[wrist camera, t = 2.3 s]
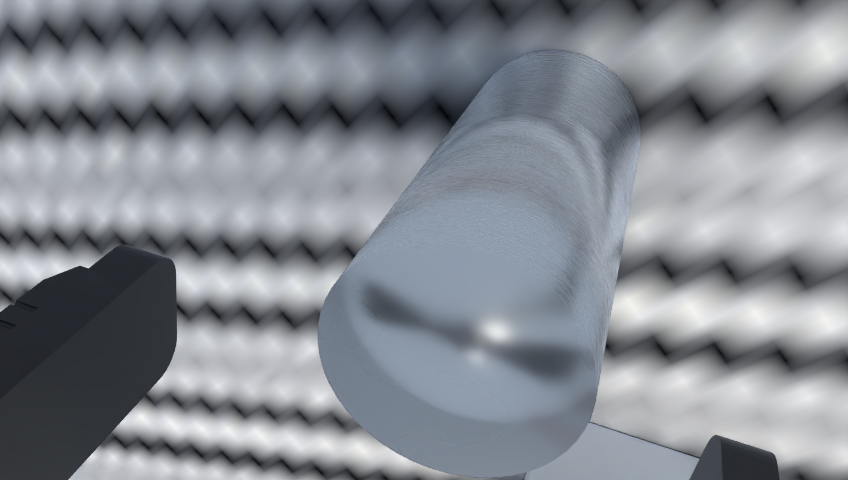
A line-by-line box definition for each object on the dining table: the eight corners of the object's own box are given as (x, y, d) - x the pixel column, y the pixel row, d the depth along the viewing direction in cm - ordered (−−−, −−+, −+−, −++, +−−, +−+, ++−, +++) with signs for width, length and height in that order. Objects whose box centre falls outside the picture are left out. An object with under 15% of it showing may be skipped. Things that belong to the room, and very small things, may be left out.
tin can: (664, 74, 19) (636, 297, 10) (613, 228, 21) (555, 512, 13) (488, 31, 19) (330, 206, 11) (457, 185, 22) (308, 425, 13)
